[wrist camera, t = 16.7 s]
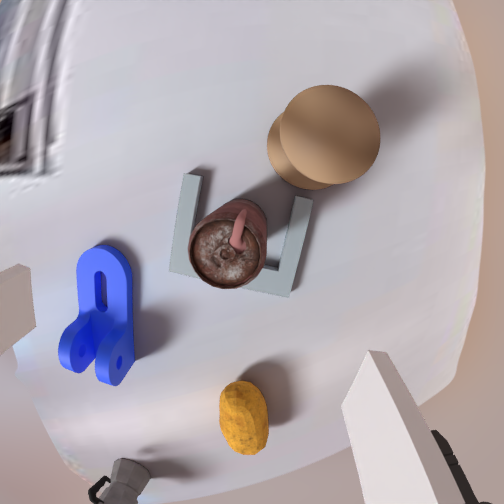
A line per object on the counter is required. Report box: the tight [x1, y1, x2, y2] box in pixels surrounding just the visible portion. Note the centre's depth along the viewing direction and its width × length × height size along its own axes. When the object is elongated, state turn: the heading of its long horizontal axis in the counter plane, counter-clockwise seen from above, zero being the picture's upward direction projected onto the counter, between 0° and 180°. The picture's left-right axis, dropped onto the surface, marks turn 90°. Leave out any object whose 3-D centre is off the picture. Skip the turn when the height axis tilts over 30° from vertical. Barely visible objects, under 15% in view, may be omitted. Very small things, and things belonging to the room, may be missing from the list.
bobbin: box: [267, 85, 380, 190], centre depth 27 cm, size 10×10×12 cm
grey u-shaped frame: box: [169, 174, 314, 298], centre depth 35 cm, size 12×15×2 cm
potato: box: [219, 381, 269, 455], centre depth 39 cm, size 7×14×7 cm, turn 4°
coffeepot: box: [88, 459, 151, 504], centre depth 42 cm, size 15×9×18 cm, turn 19°
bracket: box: [58, 245, 135, 386], centre depth 35 cm, size 18×8×9 cm, turn 172°
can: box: [188, 199, 267, 289], centre depth 29 cm, size 6×6×14 cm
